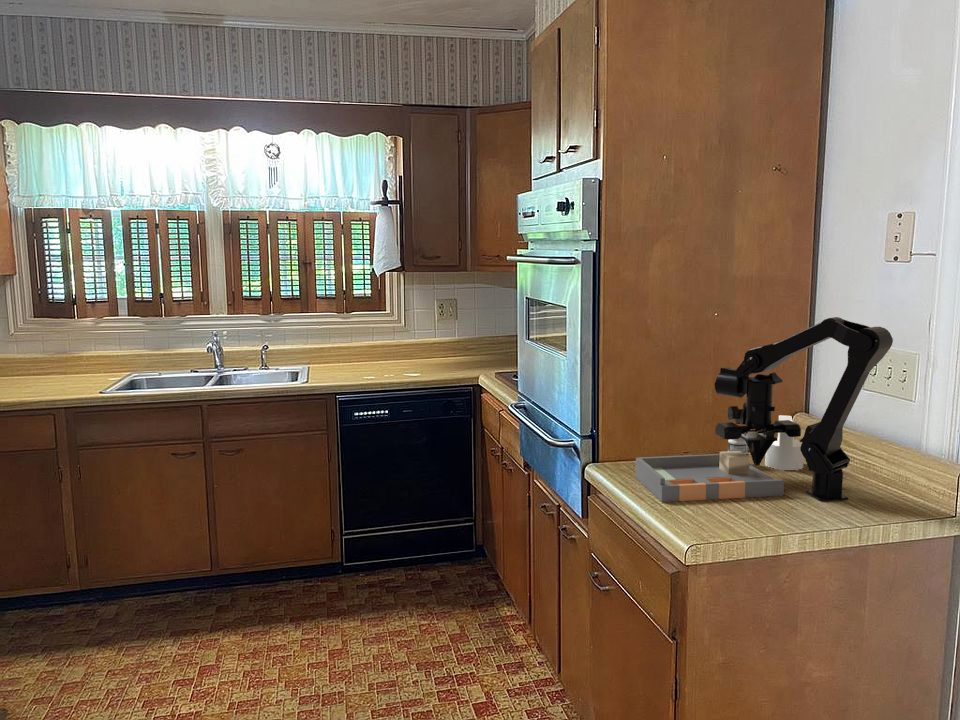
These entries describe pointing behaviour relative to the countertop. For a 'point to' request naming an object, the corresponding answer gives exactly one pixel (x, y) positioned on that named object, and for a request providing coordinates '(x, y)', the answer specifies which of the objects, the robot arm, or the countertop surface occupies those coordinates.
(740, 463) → the birch block
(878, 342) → the robot arm
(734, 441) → the pill bottle
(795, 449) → the base with upright slab
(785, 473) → the countertop surface
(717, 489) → the grey tray
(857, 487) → the countertop surface
